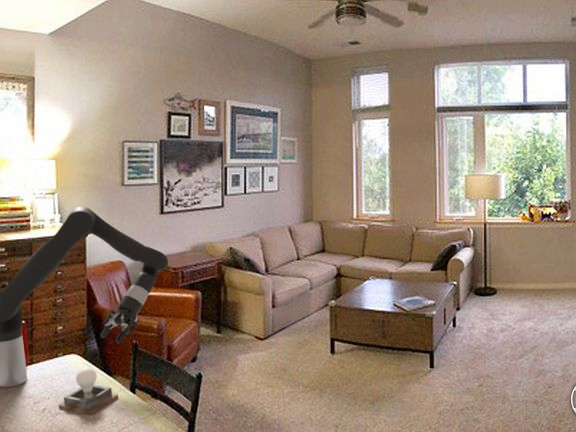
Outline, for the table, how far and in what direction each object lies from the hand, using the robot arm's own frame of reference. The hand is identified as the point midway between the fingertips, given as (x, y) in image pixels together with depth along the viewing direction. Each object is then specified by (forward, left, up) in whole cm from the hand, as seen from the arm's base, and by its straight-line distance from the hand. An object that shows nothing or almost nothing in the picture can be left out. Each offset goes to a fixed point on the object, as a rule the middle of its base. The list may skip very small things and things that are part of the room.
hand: (109, 339), depth 180 cm
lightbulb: (+1, -13, -16) cm, 21 cm away
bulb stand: (+1, -13, -17) cm, 21 cm away
